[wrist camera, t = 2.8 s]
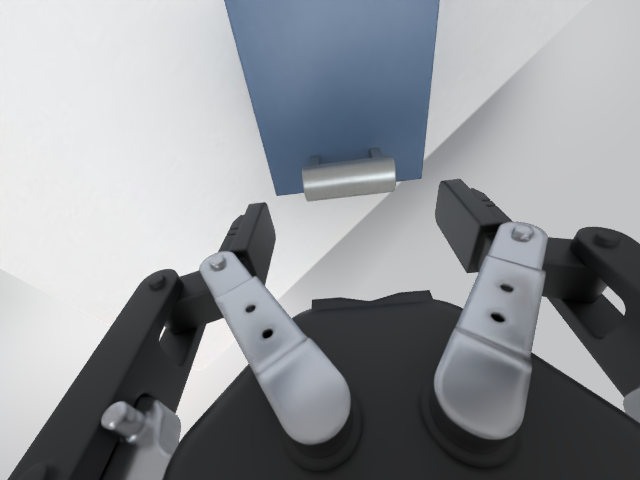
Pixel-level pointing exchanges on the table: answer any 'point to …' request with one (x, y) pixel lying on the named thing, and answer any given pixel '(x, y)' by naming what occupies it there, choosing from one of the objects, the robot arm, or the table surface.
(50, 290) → the table surface
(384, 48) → the lid
